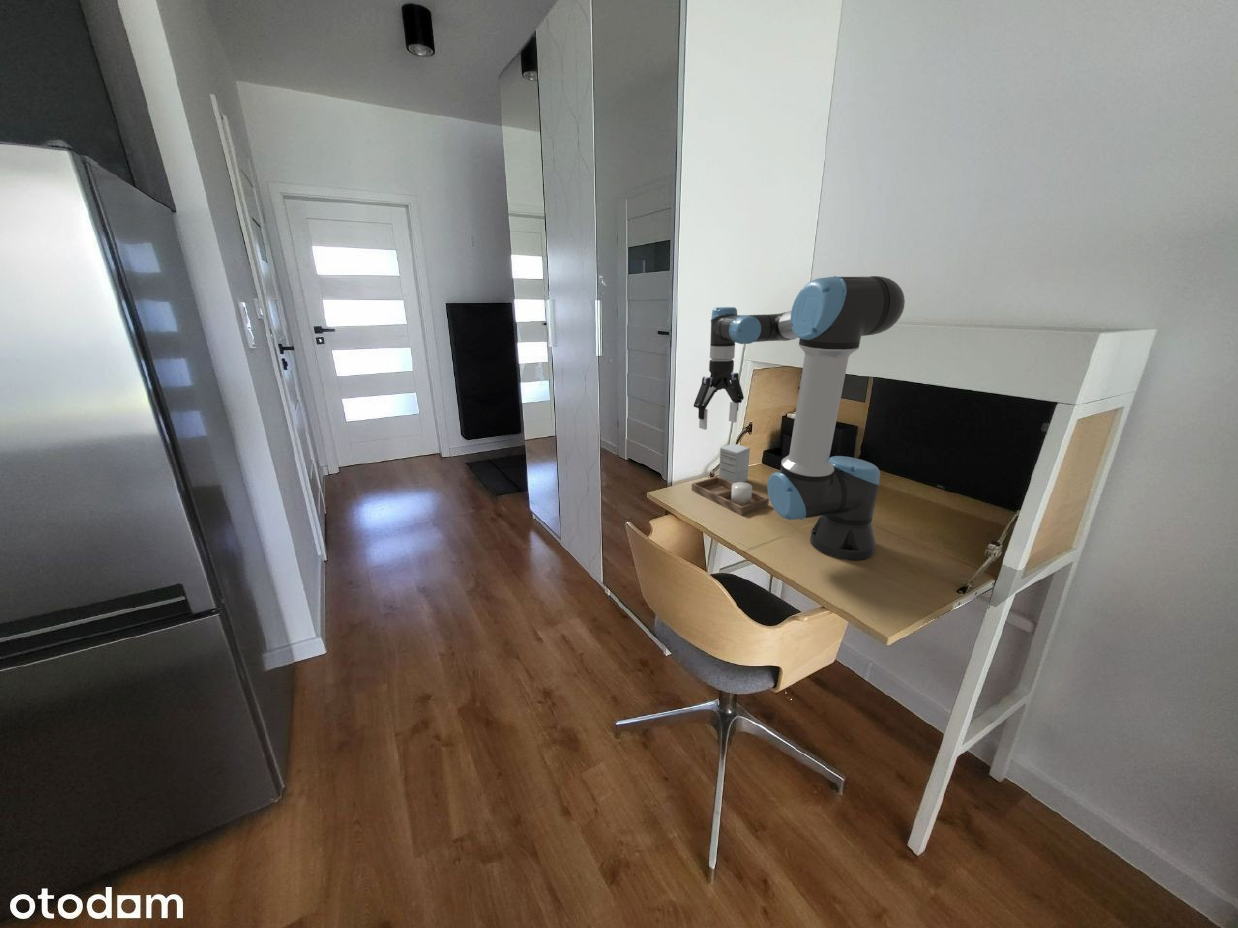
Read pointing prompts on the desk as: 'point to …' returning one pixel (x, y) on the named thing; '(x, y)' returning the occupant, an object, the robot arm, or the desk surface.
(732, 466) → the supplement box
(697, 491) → the tray
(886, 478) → the desk surface
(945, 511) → the desk surface
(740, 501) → the ceramic jar
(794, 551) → the desk surface
